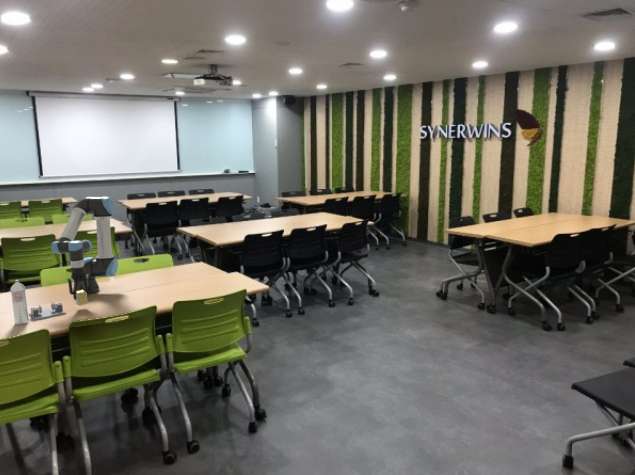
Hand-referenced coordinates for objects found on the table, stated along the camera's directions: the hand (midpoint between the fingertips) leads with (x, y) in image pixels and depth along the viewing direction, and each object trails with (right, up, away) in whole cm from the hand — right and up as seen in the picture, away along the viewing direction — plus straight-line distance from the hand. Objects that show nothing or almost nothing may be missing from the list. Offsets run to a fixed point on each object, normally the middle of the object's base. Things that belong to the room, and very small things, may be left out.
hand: (81, 303), depth 307 cm
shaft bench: (-16, -5, -9) cm, 19 cm away
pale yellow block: (0, 0, 0) cm, 0 cm away
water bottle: (-23, -8, -24) cm, 34 cm away
